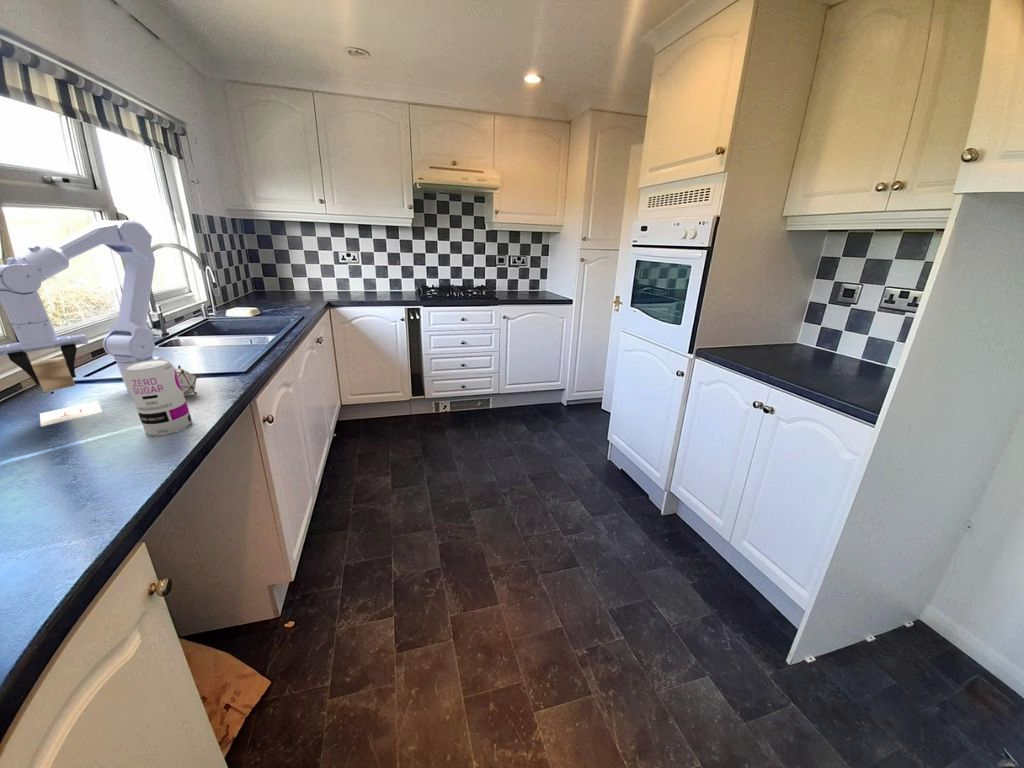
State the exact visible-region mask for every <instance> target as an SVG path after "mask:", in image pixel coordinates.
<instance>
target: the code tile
mask: <svg viewBox="0 0 1024 768" xmlns="http://www.w3.org/2000/svg"><path fill="white" fill-rule="evenodd" d="M100 413H103V411H102V408H101V406H100V403H99V401H98V400H96V401H91V402H86V403H82V404H77V405H73V406H68V407H64V408H59V409H54V410H51V411H46V412H42V413H39V420H40V427H45V426H49V425H53V424H54V425H55V424H58V423H63V422H67V421H71V420H75V419H79V418H84V417H87V416H92V415H96V414H100Z"/></svg>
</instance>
